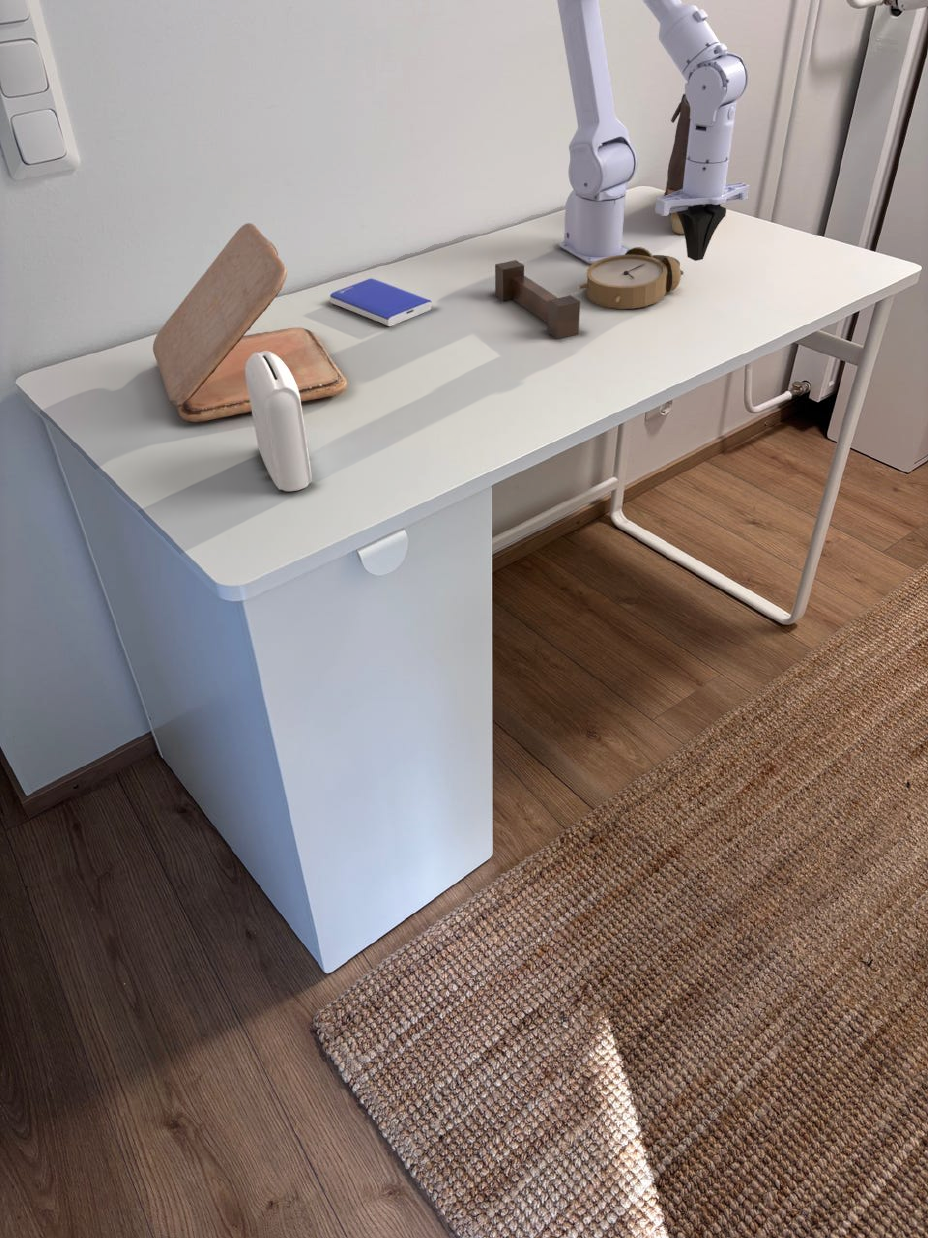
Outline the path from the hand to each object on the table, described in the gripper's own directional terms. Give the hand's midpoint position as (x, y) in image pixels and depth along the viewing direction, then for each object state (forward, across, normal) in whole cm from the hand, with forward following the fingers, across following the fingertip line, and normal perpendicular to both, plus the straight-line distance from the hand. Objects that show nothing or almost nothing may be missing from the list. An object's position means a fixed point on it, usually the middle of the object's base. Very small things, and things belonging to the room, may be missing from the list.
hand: (695, 257), depth 142 cm
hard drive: (+3, -44, +13) cm, 46 cm away
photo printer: (+3, -70, -23) cm, 74 cm away
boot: (+3, +17, +24) cm, 29 cm away
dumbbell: (+3, -26, 0) cm, 26 cm away
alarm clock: (+3, -10, 0) cm, 11 cm away
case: (+3, -67, 0) cm, 67 cm away
